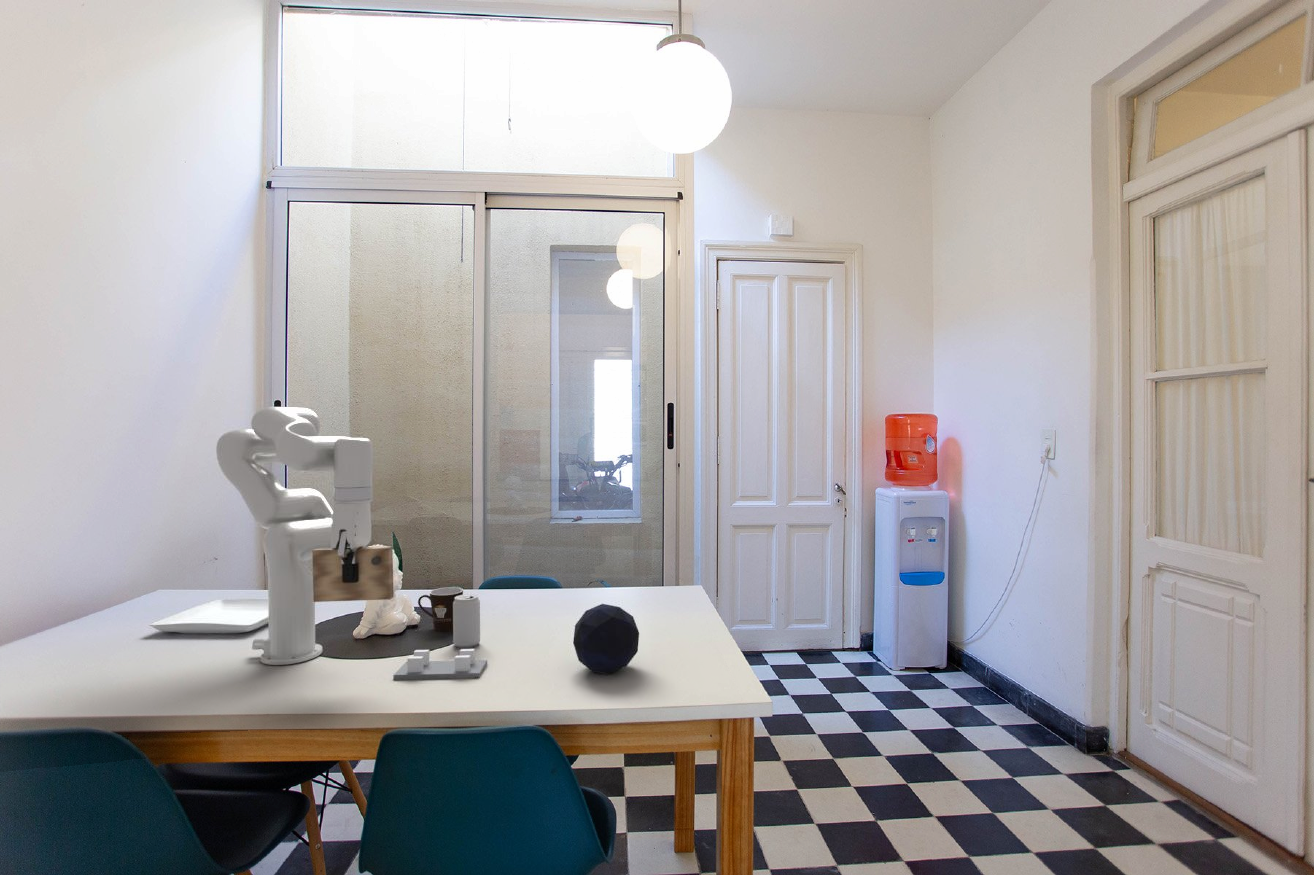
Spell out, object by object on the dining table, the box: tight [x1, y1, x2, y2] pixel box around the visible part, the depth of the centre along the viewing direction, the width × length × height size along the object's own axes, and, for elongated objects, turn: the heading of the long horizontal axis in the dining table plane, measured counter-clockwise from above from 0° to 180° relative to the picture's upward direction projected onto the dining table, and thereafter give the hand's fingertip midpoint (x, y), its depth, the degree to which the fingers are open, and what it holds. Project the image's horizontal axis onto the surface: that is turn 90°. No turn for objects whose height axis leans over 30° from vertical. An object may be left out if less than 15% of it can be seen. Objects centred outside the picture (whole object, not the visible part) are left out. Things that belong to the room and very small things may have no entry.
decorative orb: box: [572, 603, 640, 675], centre depth 140 cm, size 14×15×15 cm
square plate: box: [148, 597, 268, 634], centre depth 178 cm, size 27×27×4 cm
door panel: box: [311, 546, 395, 603], centre depth 136 cm, size 16×3×11 cm, turn 93°
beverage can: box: [452, 593, 481, 649], centre depth 157 cm, size 6×6×12 cm
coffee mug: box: [417, 586, 464, 633], centre depth 172 cm, size 12×9×10 cm
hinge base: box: [392, 648, 488, 681], centre depth 139 cm, size 18×8×4 cm, turn 93°
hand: (353, 580), depth 137 cm, fingers closed on door panel, 2 cm apart
